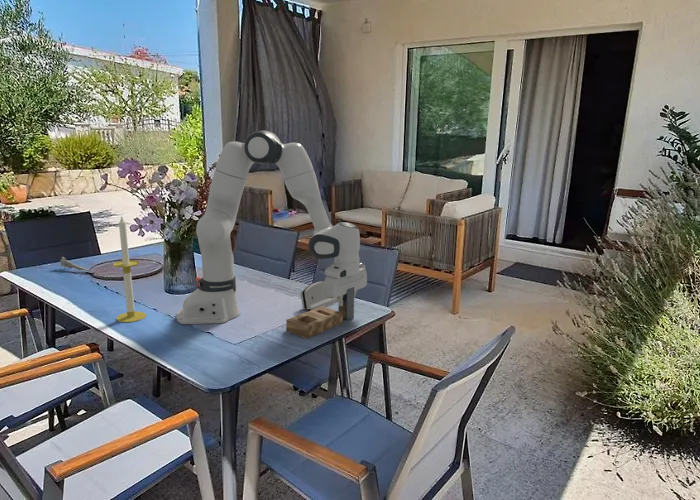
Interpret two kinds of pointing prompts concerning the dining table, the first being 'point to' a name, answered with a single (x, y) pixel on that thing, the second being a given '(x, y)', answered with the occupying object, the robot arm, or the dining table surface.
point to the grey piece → (315, 297)
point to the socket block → (314, 322)
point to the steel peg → (348, 305)
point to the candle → (127, 278)
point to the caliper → (70, 264)
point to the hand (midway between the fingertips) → (346, 303)
